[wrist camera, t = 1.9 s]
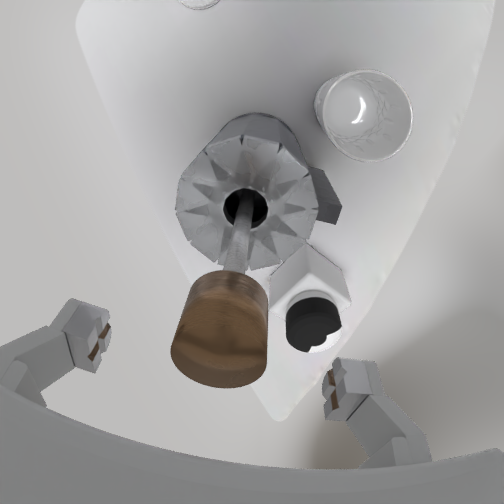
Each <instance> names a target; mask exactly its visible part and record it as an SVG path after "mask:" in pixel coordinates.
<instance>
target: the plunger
mask: <svg viewBox="0 0 504 504" xmlns="http://www.w3.org/2000/svg"><path fill="white" fill-rule="evenodd" d="M225 206H226V209H227V212H228V214H229V215H230V216H231V217H232V218H234V219H235V222H234V226H233V230H232V235H231V239H230V243H229V247H228V251H227V255H226V259H225V264H224V268H223V270H220V271H214V272H210V273H207V274H205V275H203V276H201V277H200V278H199V279H197V280H196V281H195V283H194V284H193V285H192V287H191V289H190V292H189V295H188V298H187V301H186V304H185V307H184V309H183V312H182V315H181V319H180V321H179V324H178V328H177V330H176V333H175V336H174V340H173V342H172V345H171V357H172V360H173V362H174V364H175V366H176V367H177V368H178V369H179V370H180V371H181V372H182V373H183V374H184V375H186V376H187V377H188V378H190V379H192V380H194V381H196V382H198V383H200V384H203V385H207V386H211V387H216V388H236V387H242V386H245V385H248V384H251V383H253V382H254V381H256V380H257V379H259V378H260V377H261V376H262V374H263V373H264V371H265V369H266V365H267V337H268V298H267V295H266V293H265V291H264V289H263V288H262V287H261V285H260V284H259V283H258V282H256V281H255V280H254V279H252V278H251V277H249V276H247V275H245V268H246V260H247V253H248V245H249V238H250V230H251V223H252V222H256V221H259V220H260V219H261V218H262V217H263V216H264V215H265V214H266V212H267V208H268V206H267V203H266V200H265V198H264V197H263V196H262V195H261V194H260V193H258V192H257V191H256V190H251V189H247V188H242V189H239V190H235V191H232V193H231V194H230V195H229V196H228V197H227V198H226V201H225Z"/></svg>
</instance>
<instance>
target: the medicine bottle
mask: <svg viewBox="0 0 504 504" xmlns="http://www.w3.org/2000/svg"><path fill="white" fill-rule="evenodd" d="M350 305H351V298H350V295H349V292H348V288H347V285H346V282H345V279H344V275H343V272H342V270H341V269H339V268H338V267H337V266H335V265H334V264H333V263H331V262H330V261H329V260H328V259H326V258H325V257H324V256H322V255H321V254H320V253H318V252H317V251H316V250H314V249H313V248H312V247H311V246H309V245H308V244H307V243H306V244H304V245H303V246H302V247H301V248H300V249H299V250H297V251H296V252H295V253H294V254H293V255H292V256H290V257H289V258H288V259H287V260H286V261H285V262H284V263H283V264H282V265H281V266H280V267H279V268H278V269H277V270H276V271H275V272H274V273H273V274H272V275H271V277H270V295H269V311H270V312H271V313H273V314H274V315H276V316H278V317H279V318H281V319H282V320H284V321H286V338H287V340H288V342H289V344H290V345H291V346H293V347H294V348H296V349H297V350H299V351H302V352H307V353H315V352H321V351H324V350H326V349H328V348H330V347H332V346H333V345H334V344H335V343H336V342H337V341H338V340H339V338H340V337H341V334H342V325H341V321H340V316H339V314H341V313H342V312H343V311H344V310H345V309H347V308H348V307H349V306H350Z"/></svg>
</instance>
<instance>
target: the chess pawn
mask: <svg viewBox="0 0 504 504" xmlns="http://www.w3.org/2000/svg"><path fill="white" fill-rule="evenodd" d="M179 1H180V2H181V3H183V4H184V5H185V6H187V7H188V8H192V9H206V8H208V7H211V6H213V5H214V4H216V3H217V2H218V1H219V0H179Z"/></svg>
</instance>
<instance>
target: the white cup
mask: <svg viewBox="0 0 504 504" xmlns="http://www.w3.org/2000/svg"><path fill="white" fill-rule="evenodd" d="M314 109H315V113H316V117H317V119H318V121H319V123H320V125H321V127H322V129H323V130H324V132H325V133H326V134H327V136H328V137H329V139H330V140H331V142H332V143H333V144H334V145H335V147H336V148H337V149H338V150H340V151H341V152H342V153H343V154H345V155H346V156H348V157H350V158H352V159H355V160H358V161H362V162H378V161H382V160H385V159H388V158H390V157H392V156H393V155H395V154H396V153H397V152H398V151H400V150H401V149H402V147H403V146H404V145H405V144H406V142H407V140H408V138H409V136H410V134H411V131H412V127H413V109H412V105H411V102H410V99H409V97H408V95H407V93H406V92H405V90H404V89H403V87H402V86H401V85H400V84H399V83H398V82H397V81H396V80H395V79H393V78H392V77H390V76H389V75H387V74H385V73H382V72H380V71H376V70H370V69H361V70H355V71H352V72H348V73H344V74H341V75H338V76H336V77H334V78H332V79H330V80H329V81H326V82H325V83H324V84H323V85H322V86H321V87H320V89H319V90H318V91H317V92H316V96H315V101H314Z"/></svg>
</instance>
